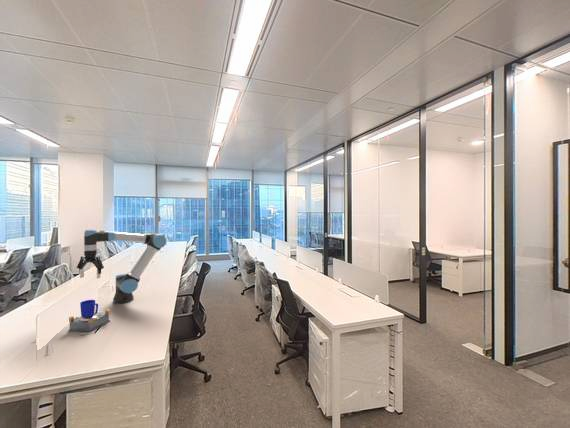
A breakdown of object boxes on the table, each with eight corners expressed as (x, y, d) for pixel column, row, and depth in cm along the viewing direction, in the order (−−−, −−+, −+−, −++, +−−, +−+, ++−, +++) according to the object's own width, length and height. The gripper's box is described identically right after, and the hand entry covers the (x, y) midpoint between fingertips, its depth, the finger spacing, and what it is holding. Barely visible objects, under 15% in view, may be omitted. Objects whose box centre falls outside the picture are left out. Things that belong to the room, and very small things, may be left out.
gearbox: (87, 320, 184) (87, 308, 183) (110, 321, 182) (110, 309, 182) (64, 331, 166) (64, 318, 166) (90, 332, 165) (90, 319, 165)
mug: (91, 320, 169) (91, 304, 169) (76, 318, 171) (76, 303, 171) (103, 315, 177) (103, 300, 177) (88, 313, 179) (88, 299, 179)
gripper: (70, 250, 194) (70, 278, 194) (101, 251, 191) (101, 279, 192) (79, 248, 201) (79, 276, 201) (109, 249, 199) (109, 277, 199)
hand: (90, 277), depth 196 cm, fingers open, 13 cm apart
